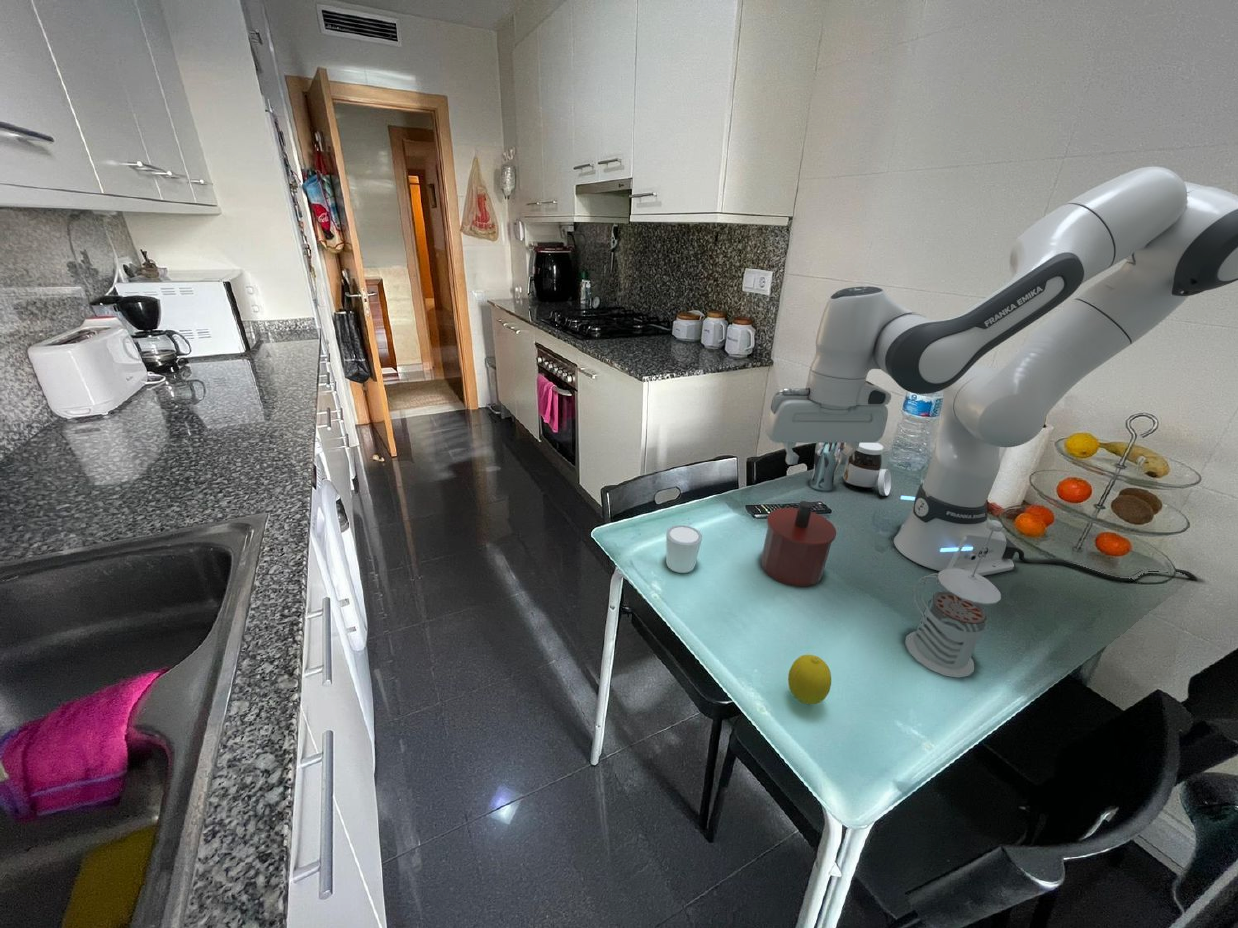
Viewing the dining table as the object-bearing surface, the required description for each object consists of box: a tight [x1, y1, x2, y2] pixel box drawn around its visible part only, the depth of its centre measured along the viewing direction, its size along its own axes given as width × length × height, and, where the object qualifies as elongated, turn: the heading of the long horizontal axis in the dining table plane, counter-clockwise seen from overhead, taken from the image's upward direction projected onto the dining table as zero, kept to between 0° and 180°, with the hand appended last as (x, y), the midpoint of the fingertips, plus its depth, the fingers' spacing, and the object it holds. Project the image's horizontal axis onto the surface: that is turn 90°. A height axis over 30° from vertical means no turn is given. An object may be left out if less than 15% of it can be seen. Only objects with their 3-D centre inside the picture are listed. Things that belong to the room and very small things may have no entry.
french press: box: [904, 519, 1004, 679], centre depth 76 cm, size 10×12×25 cm
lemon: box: [787, 654, 832, 705], centre depth 70 cm, size 6×6×8 cm
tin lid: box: [766, 500, 837, 546], centre depth 94 cm, size 13×13×6 cm
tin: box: [760, 526, 833, 587], centre depth 97 cm, size 12×12×10 cm
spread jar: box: [842, 442, 892, 497], centre depth 130 cm, size 12×11×12 cm
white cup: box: [665, 524, 703, 574], centre depth 97 cm, size 7×7×7 cm
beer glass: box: [808, 443, 847, 492], centre depth 129 cm, size 7×7×15 cm
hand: (816, 463), depth 89 cm, fingers open, 8 cm apart
